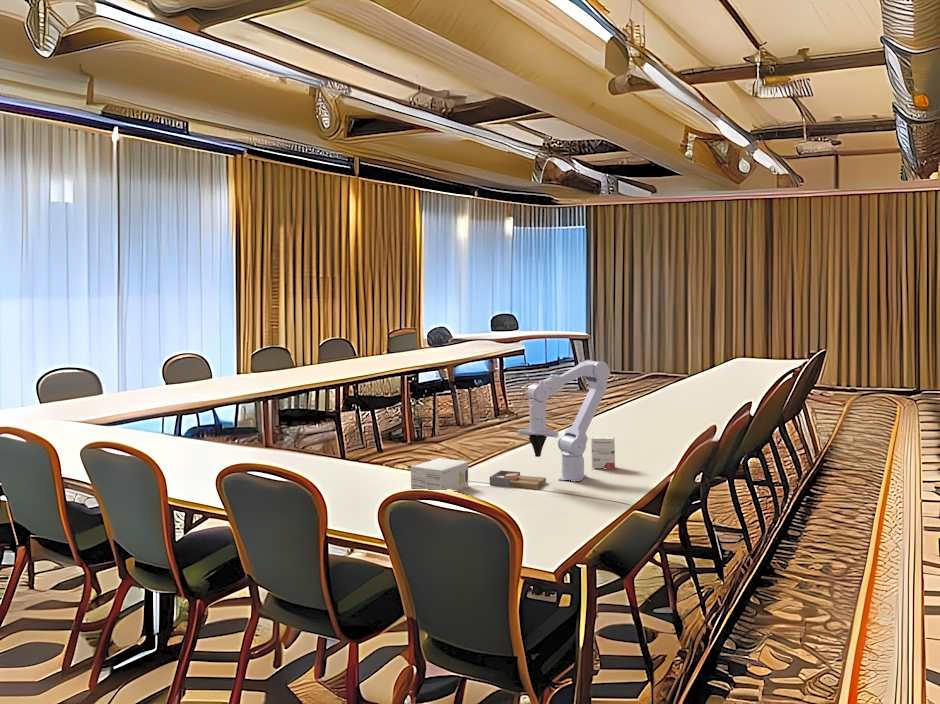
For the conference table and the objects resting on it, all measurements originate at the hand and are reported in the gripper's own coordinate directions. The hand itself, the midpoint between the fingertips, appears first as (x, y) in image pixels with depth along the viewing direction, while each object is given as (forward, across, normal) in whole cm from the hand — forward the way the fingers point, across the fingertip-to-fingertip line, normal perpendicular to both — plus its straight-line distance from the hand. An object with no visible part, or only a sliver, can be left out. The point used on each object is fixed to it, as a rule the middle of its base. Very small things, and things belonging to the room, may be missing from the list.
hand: (538, 456), depth 301 cm
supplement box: (+10, -29, -19) cm, 36 cm away
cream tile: (+10, -13, -3) cm, 16 cm away
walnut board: (+10, -3, -2) cm, 11 cm away
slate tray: (+10, -12, -2) cm, 15 cm away
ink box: (+10, +15, +32) cm, 37 cm away
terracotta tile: (+8, -9, -3) cm, 12 cm away
